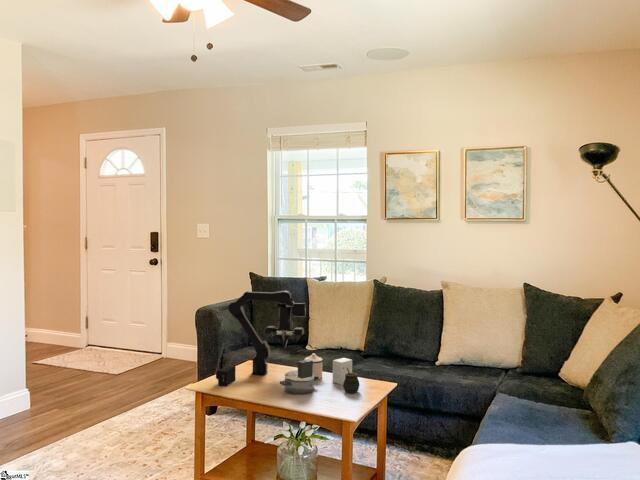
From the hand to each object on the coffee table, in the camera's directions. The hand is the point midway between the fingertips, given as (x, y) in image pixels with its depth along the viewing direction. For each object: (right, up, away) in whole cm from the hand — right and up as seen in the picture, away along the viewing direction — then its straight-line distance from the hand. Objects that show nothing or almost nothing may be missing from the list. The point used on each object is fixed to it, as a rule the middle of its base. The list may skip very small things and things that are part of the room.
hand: (284, 347), depth 270 cm
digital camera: (-26, -13, -16) cm, 33 cm away
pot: (+8, -14, -25) cm, 30 cm away
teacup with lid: (+13, -14, -4) cm, 19 cm away
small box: (+28, -14, -11) cm, 33 cm away
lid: (+8, -8, -25) cm, 28 cm away
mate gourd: (+31, -15, -26) cm, 43 cm away
